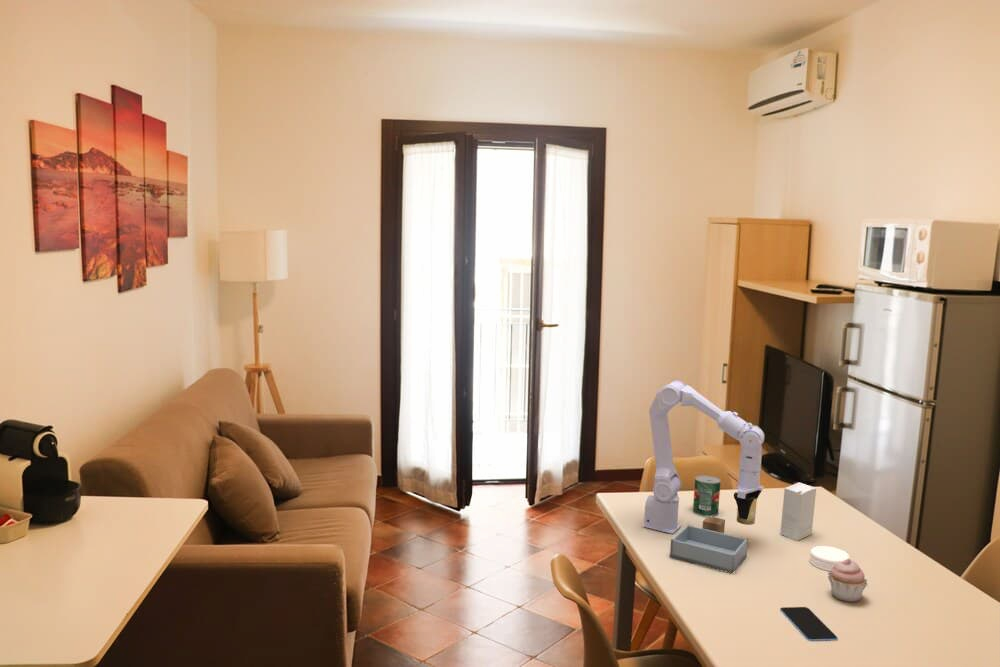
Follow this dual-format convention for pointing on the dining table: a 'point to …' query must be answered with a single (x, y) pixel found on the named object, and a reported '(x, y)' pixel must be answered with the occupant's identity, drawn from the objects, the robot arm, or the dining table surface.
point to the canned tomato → (706, 495)
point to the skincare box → (798, 511)
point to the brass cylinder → (751, 516)
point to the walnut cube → (714, 524)
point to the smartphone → (808, 624)
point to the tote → (709, 548)
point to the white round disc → (827, 557)
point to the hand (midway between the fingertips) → (745, 515)
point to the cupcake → (847, 581)
